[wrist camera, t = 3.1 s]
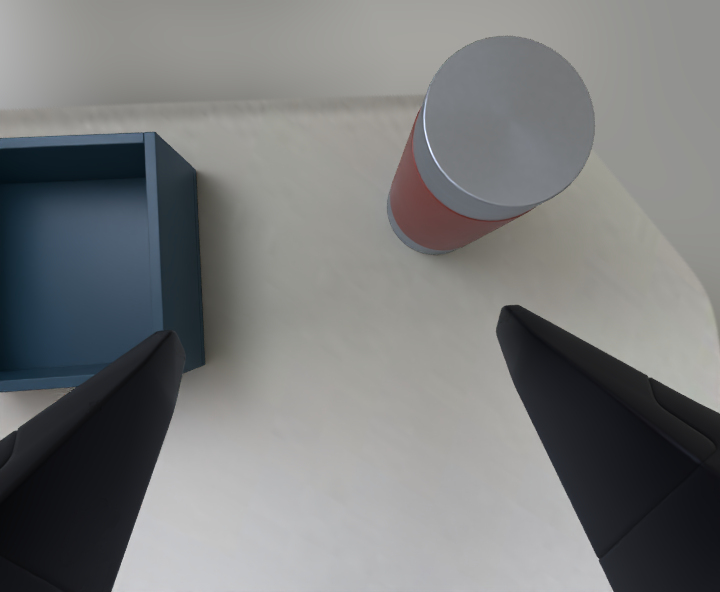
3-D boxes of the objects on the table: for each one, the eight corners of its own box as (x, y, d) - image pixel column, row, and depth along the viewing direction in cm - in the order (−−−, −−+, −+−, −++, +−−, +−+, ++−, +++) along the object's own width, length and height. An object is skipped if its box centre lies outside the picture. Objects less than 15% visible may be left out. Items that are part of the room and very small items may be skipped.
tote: (196, 169, 23) (154, 131, 18) (205, 364, 23) (165, 380, 18) (-7, 178, 23) (-107, 142, 18) (-2, 379, 22) (-104, 400, 17)
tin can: (495, 183, 24) (622, 76, 13) (460, 270, 24) (559, 237, 13) (408, 145, 24) (462, 4, 13) (371, 232, 23) (393, 164, 12)
